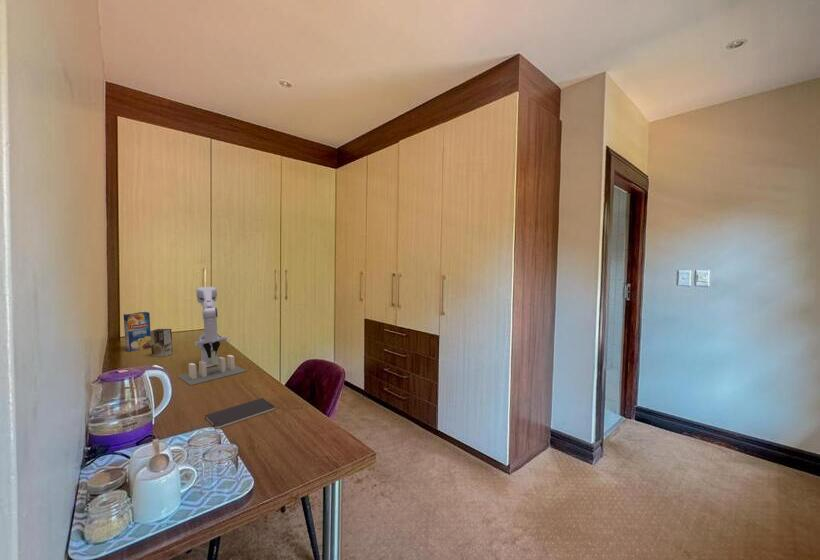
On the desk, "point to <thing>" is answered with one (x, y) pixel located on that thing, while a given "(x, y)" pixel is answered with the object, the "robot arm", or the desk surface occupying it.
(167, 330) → the coffee box
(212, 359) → the sage domino
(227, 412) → the notebook
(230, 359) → the domino
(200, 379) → the charcoal mat
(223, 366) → the domino
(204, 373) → the domino
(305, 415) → the desk surface
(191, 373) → the domino
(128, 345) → the blue food box
